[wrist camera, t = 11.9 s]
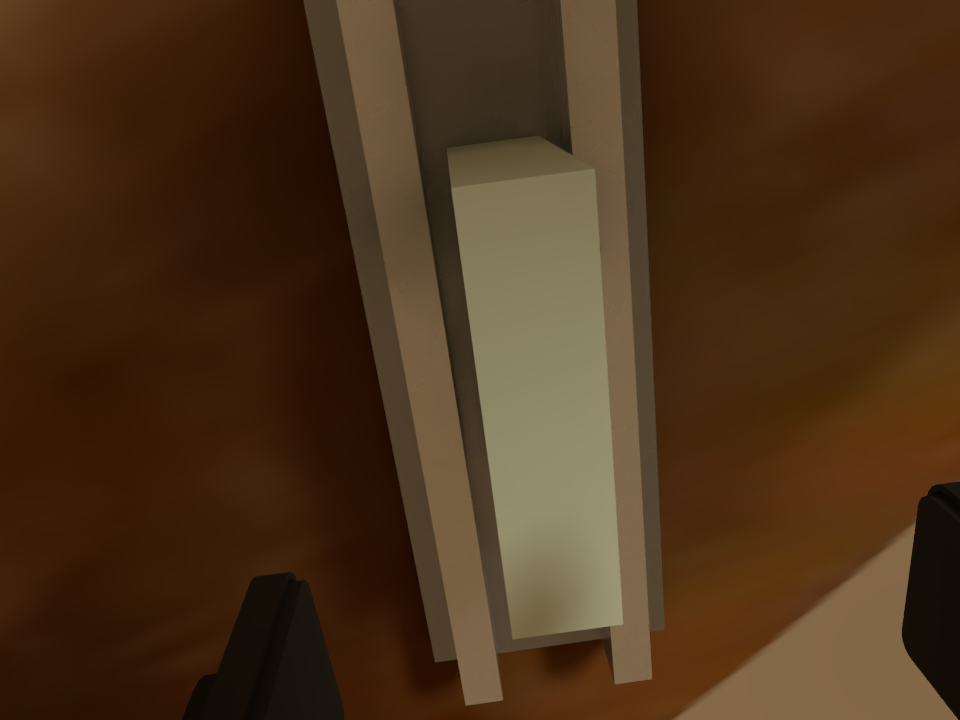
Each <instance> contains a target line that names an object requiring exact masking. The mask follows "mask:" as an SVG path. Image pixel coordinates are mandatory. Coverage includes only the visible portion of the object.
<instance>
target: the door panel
mask: <svg viewBox="0 0 960 720" xmlns="http://www.w3.org/2000/svg"><path fill="white" fill-rule="evenodd" d="M447 156H448V165H449V174H450V183H451V191H452V198H453V205H454V213H455V220H456V227H457V235H458V242H459V250H460V257H461V264H462V272H463V279H464V286H465V294H466V301H467V308H468V316H469V323H470V330H471V338H472V345H473V352H474V360H475V367H476V374H477V382H478V389H479V396H480V404H481V411H482V418H483V426H484V433H485V441H486V448H487V455H488V463H489V470H490V477H491V485H492V492H493V499H494V507H495V514H496V521H497V529H498V536H499V543H500V551H501V558H502V565H503V573H504V580H505V587H506V595H507V602H508V610H509V617H510V624H511V632H512V639H520V638H528V637H535V636H542V635H549V634H557V633H564V632H571V631H579V630H586V629H593V628H601V627H608V626H615V625H623V611H622V595H621V579H620V563H619V547H618V531H617V515H616V499H615V483H614V467H613V451H612V434H611V418H610V402H609V386H608V370H607V354H606V338H605V322H604V306H603V290H602V274H601V258H600V242H599V226H598V209H597V193H596V177H595V168H593V167H591V166H590V165H588V164H586V163H584V162H583V161H581V160H579V159H578V158H576V157H574V156H573V155H571V154H569V153H567V152H566V151H564V150H562V149H561V148H559V147H557V146H555V145H554V144H552V143H550V142H549V141H547V140H545V139H544V138H542V137H540V136H532V137H524V138H517V139H509V140H502V141H494V142H487V143H479V144H472V145H464V146H457V147H449V148H447Z"/></svg>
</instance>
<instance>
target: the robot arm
mask: <svg viewBox="0 0 960 720" xmlns="http://www.w3.org/2000/svg"><path fill="white" fill-rule="evenodd" d="M902 639H903V643H904V646H905V649H906V651H907V653H908V655H909V656H910V658H911V659H912V661H913V662H914V663H915V664H916V666H917V667H918V668H919V670H920V671H921V672H922V673H923V675H924V676H925V677H926V678H927V680H928V681H929V682H930V684H931V685H932V686H933V688H934V689H935V690H936V691H937V693H938V694H939V695H940V697H941V698H942V699H943V700H944V701H945V703H946V704H947V706H948V707H949V708H950V709H951V710H952V712H953V713H954V715H955V716H956V717H957V718H958V720H960V482H953V483H946V484H939V485H935V486H932V487H931V489H930V490H929V492H928V495H927V496H925V497H922V498H921V499H920V501H919V505H918V511H917V519H916V526H915V534H914V542H913V549H912V557H911V565H910V573H909V580H908V588H907V595H906V603H905V610H904V619H903V626H902ZM182 720H344V710H343V705H342V701H341V698H340V694H339V691H338V687H337V684H336V680H335V676H334V673H333V669H332V666H331V662H330V659H329V655H328V651H327V648H326V644H325V641H324V637H323V633H322V630H321V626H320V623H319V619H318V616H317V612H316V608H315V605H314V601H313V598H312V594H311V591H310V587H309V584H308V582H307V581H306V580H301V581H297V580H296V577H295V576H294V574H293V573H291V572H287V573H280V574H273V575H265V576H258V577H255V578H253V579H252V581H251V583H250V585H249V588H248V591H247V593H246V596H245V599H244V601H243V604H242V607H241V609H240V612H239V615H238V618H237V620H236V623H235V626H234V628H233V631H232V634H231V637H230V639H229V642H228V645H227V647H226V650H225V653H224V655H223V658H222V661H221V664H220V666H219V669H218V672H217V674H212V675H204V676H203V677H202V678H201V679H200V680H199V681H198V683H197V685H196V687H195V689H194V691H193V694H192V696H191V699H190V701H189V704H188V706H187V709H186V711H185V714H184V716H183V719H182Z"/></svg>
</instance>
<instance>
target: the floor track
mask: <svg viewBox="0 0 960 720" xmlns="http://www.w3.org/2000/svg"><path fill="white" fill-rule="evenodd" d="M303 2H304V7H305V12H306V17H307V22H308V27H309V32H310V37H311V42H312V47H313V52H314V57H315V62H316V67H317V72H318V77H319V82H320V87H321V93H322V98H323V103H324V108H325V113H326V118H327V123H328V128H329V133H330V138H331V143H332V148H333V153H334V158H335V163H336V168H337V173H338V178H339V183H340V188H341V193H342V198H343V203H344V208H345V213H346V218H347V223H348V228H349V233H350V238H351V243H352V248H353V253H354V258H355V263H356V268H357V273H358V278H359V283H360V288H361V293H362V298H363V303H364V308H365V313H366V318H367V323H368V328H369V333H370V338H371V343H372V348H373V353H374V359H375V364H376V369H377V374H378V379H379V384H380V389H381V394H382V399H383V404H384V409H385V414H386V419H387V424H388V429H389V434H390V439H391V444H392V449H393V454H394V459H395V464H396V469H397V474H398V479H399V484H400V489H401V494H402V499H403V504H404V509H405V514H406V519H407V524H408V529H409V534H410V539H411V544H412V549H413V554H414V559H415V564H416V569H417V574H418V579H419V584H420V589H421V594H422V599H423V604H424V609H425V614H426V619H427V625H428V630H429V635H430V640H431V645H432V650H433V655H434V660H435V662H442V661H449V660H456V659H457V660H458V666H459V671H460V676H461V682H462V687H463V693H464V698H465V704H466V705H473V704H480V703H487V702H494V701H501V700H503V694H502V685H501V675H500V666H499V656H498V653H505V652H512V651H519V650H526V649H533V648H540V647H547V646H554V645H561V644H568V643H575V642H582V641H589V640H597V639H602V642H603V645H604V649H605V652H606V656H607V659H608V663H609V666H610V670H611V673H612V676H613V680H614V683H615V684H620V683H627V682H634V681H641V680H648V679H652V670H651V651H650V633H649V632H653V631H660V630H665V626H664V603H663V580H662V557H661V534H660V512H659V489H658V466H657V443H656V420H655V398H654V375H653V352H652V329H651V306H650V284H649V261H648V238H647V215H646V192H645V170H644V147H643V124H642V101H641V78H640V56H639V33H638V10H637V0H303ZM532 136H540V137H542V138H544V139H545V140H547V141H549V142H550V143H552V144H554V145H555V146H557V147H559V148H561V149H562V150H564V151H566V152H567V153H569V154H571V155H573V156H574V157H576V158H578V159H579V160H581V161H583V162H584V163H586V164H588V165H590V166H591V167H593V168H595V177H596V193H597V209H598V226H599V242H600V258H601V274H602V290H603V306H604V322H605V338H606V354H607V370H608V386H609V402H610V418H611V434H612V451H613V467H614V483H615V499H616V515H617V531H618V547H619V563H620V579H621V595H622V611H623V625H615V626H608V627H601V628H593V629H586V630H579V631H571V632H564V633H557V634H549V635H542V636H535V637H528V638H520V639H512V632H511V624H510V617H509V610H508V602H507V595H506V587H505V580H504V573H503V565H502V558H501V551H500V543H499V536H498V529H497V521H496V514H495V507H494V499H493V492H492V485H491V477H490V470H489V463H488V455H487V448H486V441H485V433H484V426H483V418H482V411H481V404H480V396H479V389H478V382H477V374H476V367H475V360H474V352H473V345H472V338H471V330H470V323H469V316H468V308H467V301H466V294H465V286H464V279H463V272H462V264H461V257H460V250H459V242H458V235H457V227H456V220H455V213H454V205H453V198H452V191H451V183H450V174H449V165H448V156H447V148H449V147H457V146H464V145H472V144H479V143H487V142H494V141H502V140H509V139H517V138H524V137H532Z"/></svg>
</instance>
